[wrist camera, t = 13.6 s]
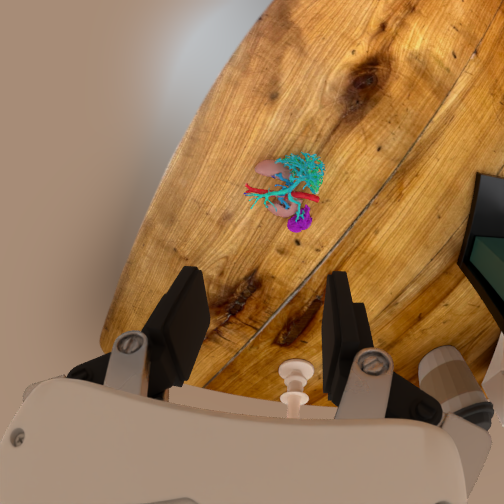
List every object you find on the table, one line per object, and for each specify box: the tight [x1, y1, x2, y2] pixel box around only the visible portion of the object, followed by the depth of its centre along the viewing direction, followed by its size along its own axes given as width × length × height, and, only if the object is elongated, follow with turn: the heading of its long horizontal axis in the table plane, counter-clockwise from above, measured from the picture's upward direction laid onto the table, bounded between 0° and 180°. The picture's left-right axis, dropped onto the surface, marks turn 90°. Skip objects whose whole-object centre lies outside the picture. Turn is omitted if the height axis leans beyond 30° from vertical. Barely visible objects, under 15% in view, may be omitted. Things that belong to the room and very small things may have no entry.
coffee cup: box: [418, 345, 494, 431], centre depth 29 cm, size 11×11×15 cm
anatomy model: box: [244, 150, 325, 232], centre depth 25 cm, size 5×8×7 cm
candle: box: [279, 359, 314, 419], centre depth 35 cm, size 5×5×10 cm
